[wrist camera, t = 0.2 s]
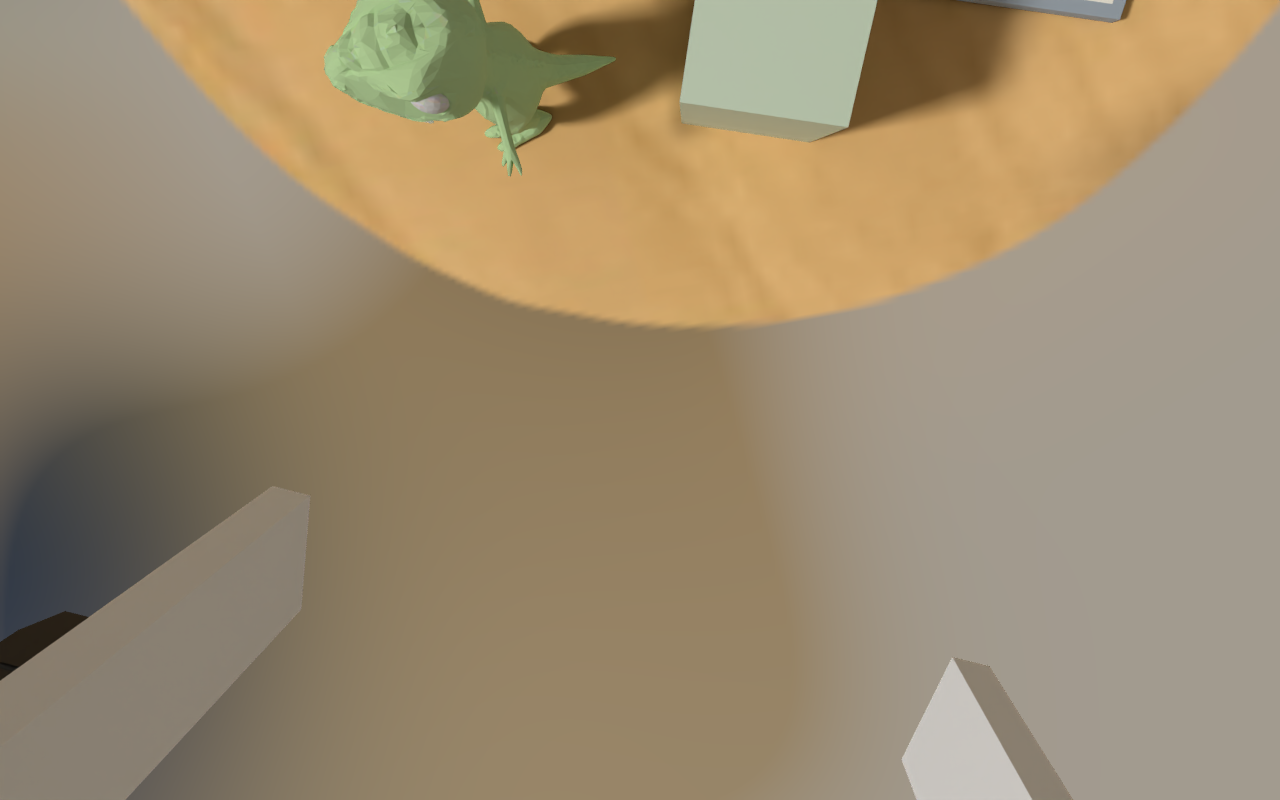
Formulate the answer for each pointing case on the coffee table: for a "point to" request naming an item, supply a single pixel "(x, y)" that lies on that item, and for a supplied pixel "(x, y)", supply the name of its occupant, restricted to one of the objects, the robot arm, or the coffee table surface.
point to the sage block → (775, 65)
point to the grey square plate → (1066, 7)
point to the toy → (449, 67)
